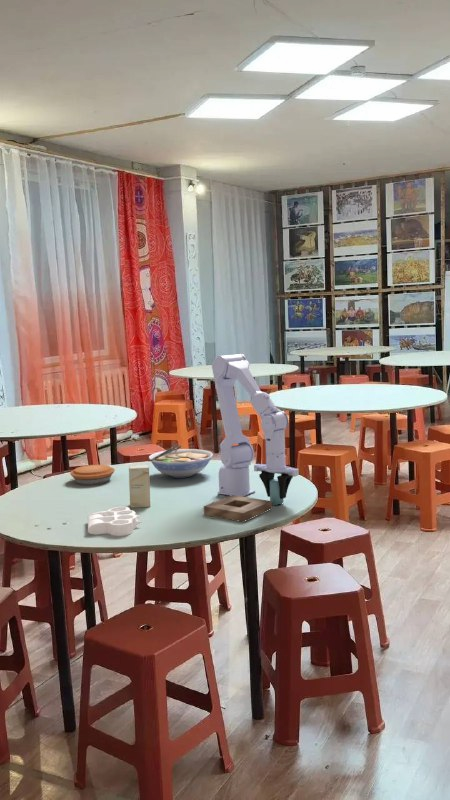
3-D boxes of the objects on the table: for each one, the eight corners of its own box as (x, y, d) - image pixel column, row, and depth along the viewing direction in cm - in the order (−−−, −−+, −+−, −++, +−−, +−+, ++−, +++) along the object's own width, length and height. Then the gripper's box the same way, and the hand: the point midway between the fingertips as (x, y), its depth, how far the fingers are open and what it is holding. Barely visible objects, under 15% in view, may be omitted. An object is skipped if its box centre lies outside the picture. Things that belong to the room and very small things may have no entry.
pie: (117, 484, 247) (116, 470, 246) (71, 488, 243) (70, 474, 243) (113, 474, 262) (112, 461, 261) (70, 478, 258) (69, 464, 257)
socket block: (204, 514, 206) (203, 506, 206) (232, 502, 217) (232, 494, 217) (243, 521, 198) (243, 513, 198) (271, 509, 209) (271, 501, 209)
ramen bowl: (197, 486, 240) (196, 462, 239) (136, 482, 248) (135, 459, 247) (224, 469, 263) (223, 447, 262) (167, 466, 271) (166, 445, 270)
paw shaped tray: (88, 520, 206) (139, 516, 209) (88, 540, 189) (144, 534, 191) (87, 509, 206) (138, 504, 208) (87, 527, 188) (143, 522, 191)
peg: (267, 504, 215) (266, 481, 214) (274, 500, 218) (274, 478, 217) (278, 505, 212) (278, 482, 211) (286, 502, 215) (285, 479, 214)
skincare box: (130, 508, 216) (127, 468, 214) (130, 504, 220) (128, 465, 219) (151, 506, 217) (149, 467, 215) (151, 502, 221) (149, 464, 219)
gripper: (247, 452, 214) (249, 496, 216) (289, 457, 205) (290, 503, 207) (260, 448, 220) (262, 491, 222) (301, 452, 211) (302, 497, 213)
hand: (276, 497), depth 215 cm, fingers closed on peg, 4 cm apart
